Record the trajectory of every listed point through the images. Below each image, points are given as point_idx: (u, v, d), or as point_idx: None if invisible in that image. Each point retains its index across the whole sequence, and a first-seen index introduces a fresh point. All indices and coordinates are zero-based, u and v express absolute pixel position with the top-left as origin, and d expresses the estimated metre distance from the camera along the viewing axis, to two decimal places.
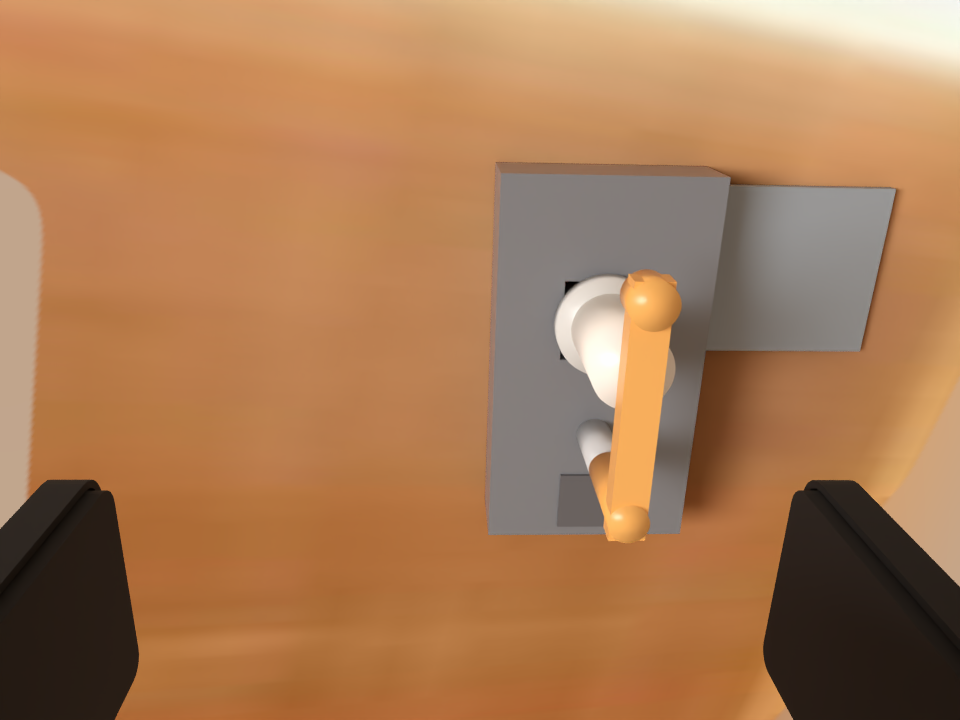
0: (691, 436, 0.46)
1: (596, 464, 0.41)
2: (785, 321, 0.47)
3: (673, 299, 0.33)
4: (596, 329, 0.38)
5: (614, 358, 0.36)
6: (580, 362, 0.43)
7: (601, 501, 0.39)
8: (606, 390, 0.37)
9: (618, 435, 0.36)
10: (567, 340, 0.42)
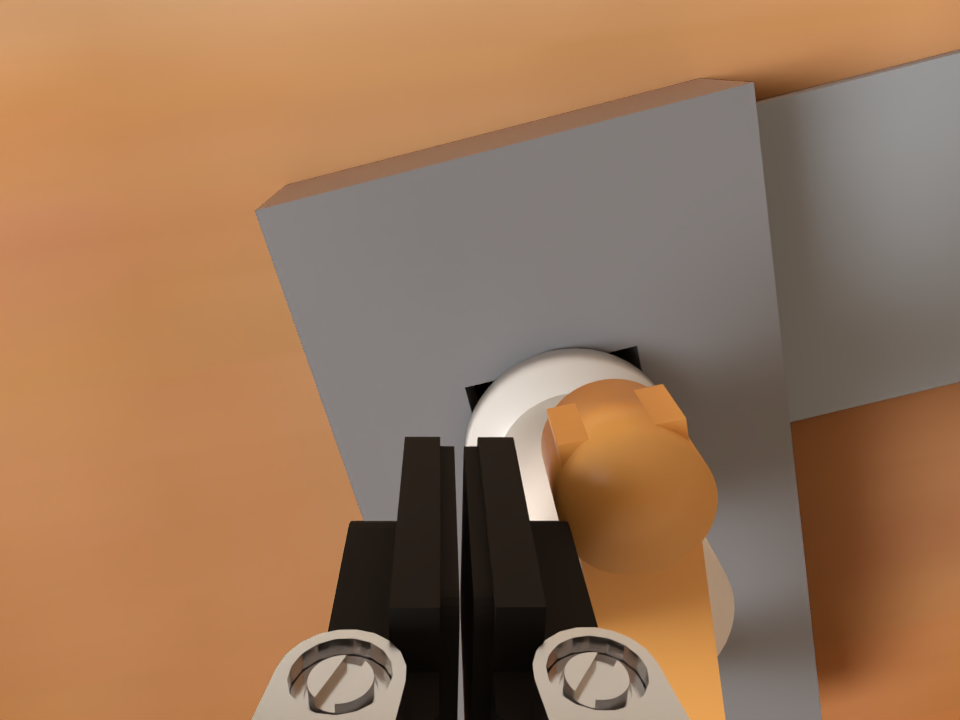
0: (805, 603, 0.23)
1: None
2: (933, 332, 0.24)
3: (686, 475, 0.11)
4: None
5: None
6: None
7: None
8: None
9: None
10: None
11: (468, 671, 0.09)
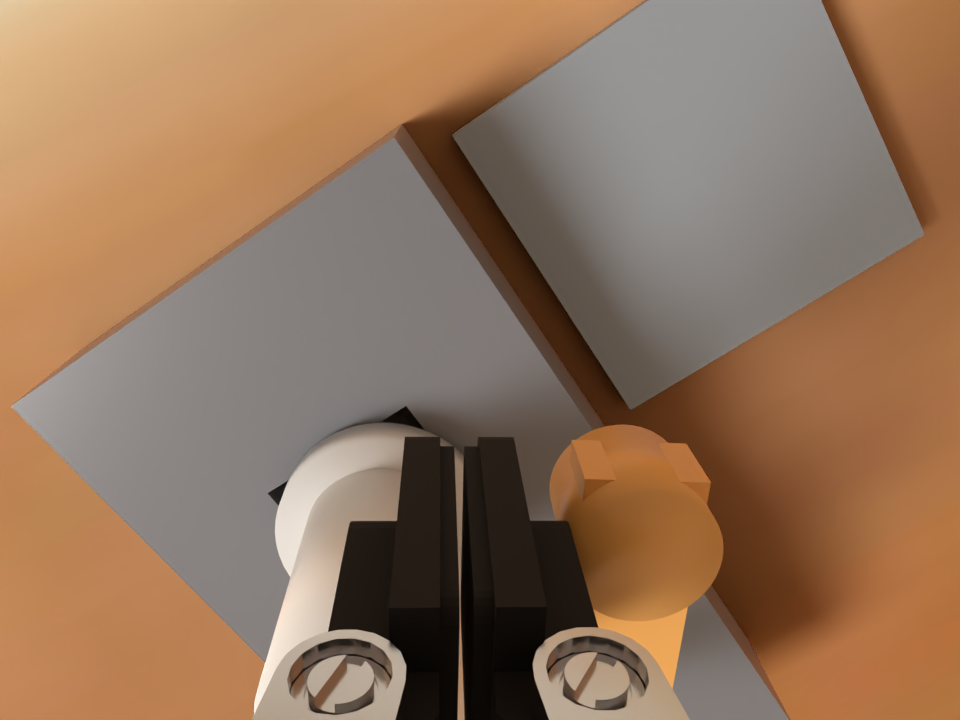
0: None
1: None
2: (742, 275, 0.23)
3: (699, 537, 0.11)
4: (276, 628, 0.17)
5: None
6: None
7: None
8: None
9: None
10: None
11: (468, 671, 0.09)
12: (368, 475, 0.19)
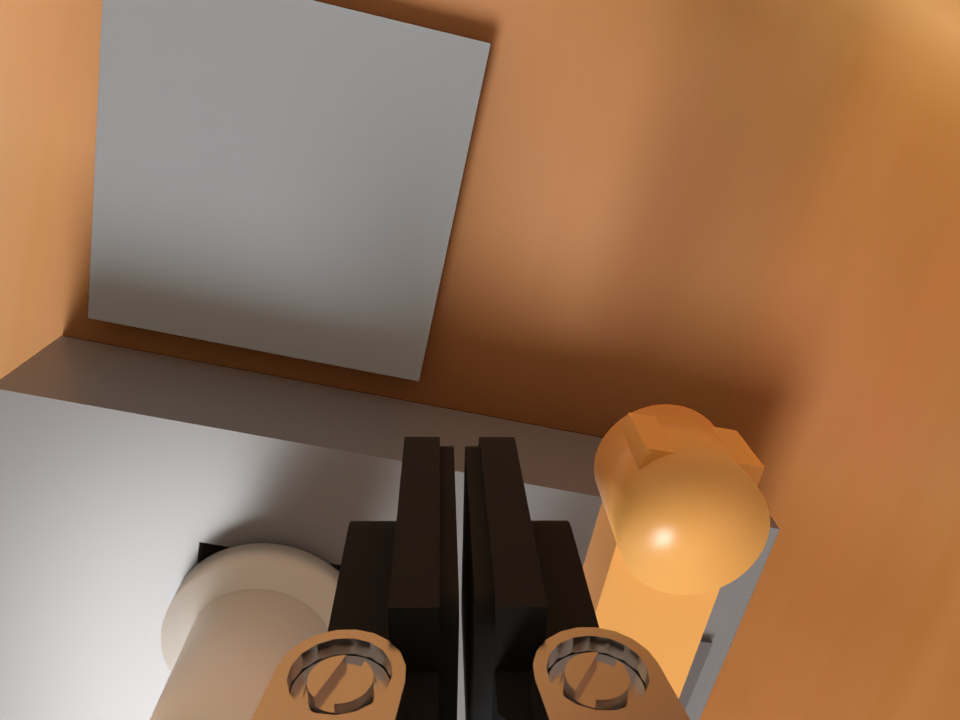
0: (551, 492, 0.22)
1: None
2: (385, 213, 0.22)
3: (748, 518, 0.11)
4: None
5: None
6: None
7: None
8: None
9: None
10: None
11: (469, 671, 0.09)
12: (196, 620, 0.21)
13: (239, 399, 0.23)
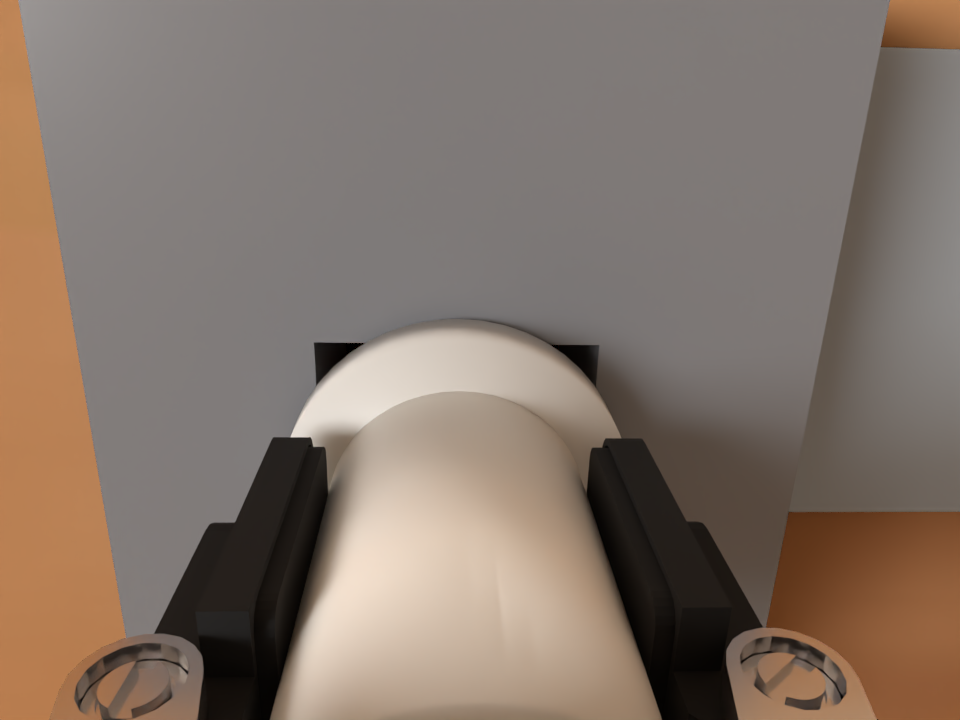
0: None
1: None
2: None
3: None
4: (326, 595, 0.08)
5: None
6: None
7: None
8: None
9: None
10: None
11: None
12: (519, 413, 0.11)
13: None
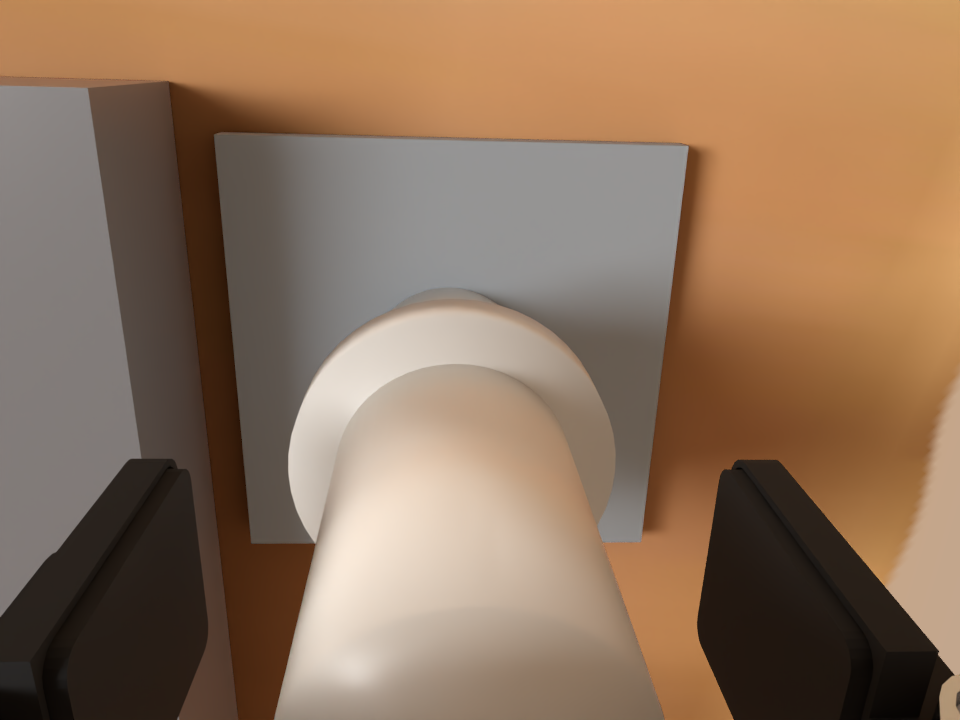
0: None
1: None
2: None
3: None
4: (340, 534, 0.09)
5: (372, 719, 0.07)
6: None
7: None
8: None
9: None
10: None
11: (791, 711, 0.09)
12: (510, 383, 0.12)
13: (169, 381, 0.16)
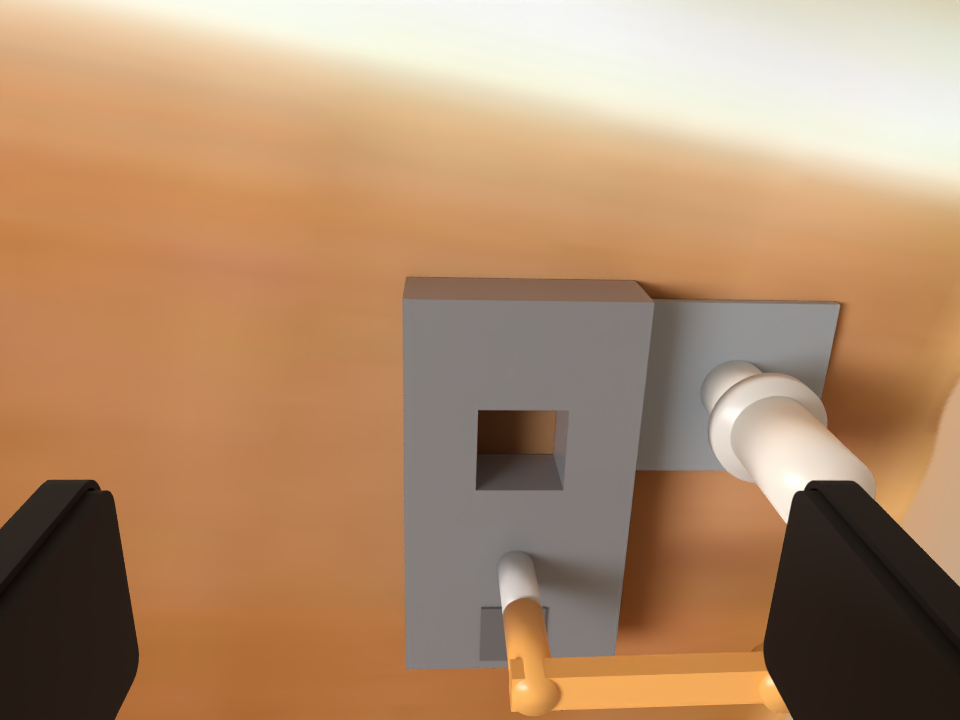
0: (622, 567, 0.43)
1: (537, 611, 0.38)
2: None
3: None
4: (779, 445, 0.34)
5: None
6: (737, 468, 0.39)
7: (534, 648, 0.35)
8: None
9: (641, 672, 0.34)
10: (725, 445, 0.38)
11: None
12: (797, 402, 0.37)
13: None
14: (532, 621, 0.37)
